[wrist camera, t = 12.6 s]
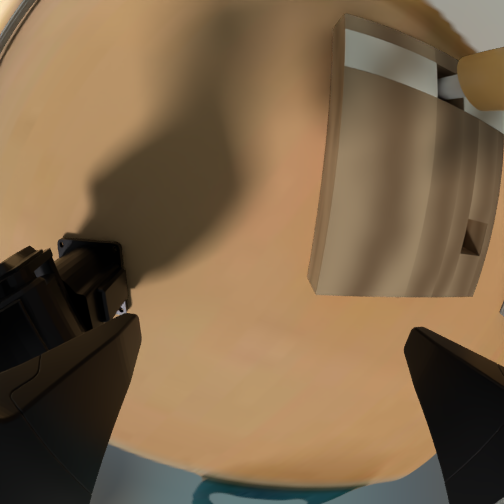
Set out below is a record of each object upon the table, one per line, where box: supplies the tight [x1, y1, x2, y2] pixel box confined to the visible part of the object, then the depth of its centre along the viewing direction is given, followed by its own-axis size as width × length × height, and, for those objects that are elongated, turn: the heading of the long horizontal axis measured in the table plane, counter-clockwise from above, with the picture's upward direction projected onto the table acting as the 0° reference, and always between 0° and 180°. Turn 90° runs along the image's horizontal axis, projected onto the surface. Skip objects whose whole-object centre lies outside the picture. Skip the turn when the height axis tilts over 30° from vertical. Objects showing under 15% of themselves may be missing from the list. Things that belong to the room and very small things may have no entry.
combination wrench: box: [0, 0, 35, 53], centre depth 11 cm, size 4×1×20 cm
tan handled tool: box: [437, 47, 504, 111], centre depth 10 cm, size 4×4×14 cm
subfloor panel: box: [307, 13, 504, 297], centre depth 17 cm, size 16×20×3 cm
